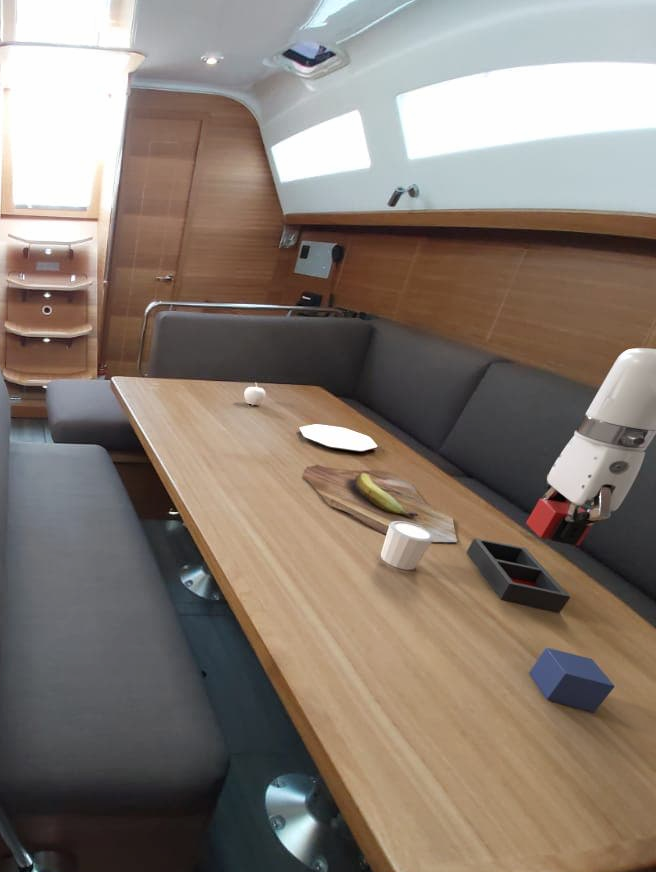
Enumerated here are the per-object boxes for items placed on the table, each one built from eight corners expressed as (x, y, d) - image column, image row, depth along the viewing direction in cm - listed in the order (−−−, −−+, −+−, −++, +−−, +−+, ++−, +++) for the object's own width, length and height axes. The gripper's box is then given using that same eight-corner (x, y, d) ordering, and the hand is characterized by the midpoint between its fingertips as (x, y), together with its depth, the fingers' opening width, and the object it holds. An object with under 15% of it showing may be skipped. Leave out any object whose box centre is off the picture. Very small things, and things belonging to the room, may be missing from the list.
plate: (382, 458, 141) (384, 454, 140) (306, 447, 146) (307, 443, 145) (362, 434, 158) (364, 430, 157) (294, 425, 163) (296, 421, 162)
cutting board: (289, 464, 135) (293, 451, 133) (395, 472, 132) (401, 459, 131) (352, 535, 104) (359, 519, 102) (493, 548, 101) (502, 533, 99)
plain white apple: (244, 399, 186) (249, 379, 183) (264, 403, 183) (270, 382, 179) (240, 404, 181) (245, 383, 178) (260, 408, 178) (266, 387, 174)
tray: (516, 562, 97) (525, 547, 95) (559, 613, 84) (570, 596, 82) (466, 552, 100) (474, 537, 98) (500, 599, 87) (509, 583, 85)
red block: (562, 530, 85) (577, 504, 82) (579, 545, 80) (596, 519, 78) (525, 523, 86) (539, 498, 84) (540, 538, 82) (555, 512, 80)
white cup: (425, 575, 92) (441, 544, 89) (383, 566, 94) (396, 536, 91) (412, 554, 98) (426, 524, 95) (372, 547, 100) (384, 517, 97)
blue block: (573, 684, 70) (592, 658, 68) (594, 713, 66) (615, 686, 64) (528, 672, 72) (545, 647, 70) (546, 699, 68) (565, 673, 66)
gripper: (690, 458, 67) (614, 567, 75) (610, 419, 81) (553, 514, 89) (617, 448, 69) (550, 554, 77) (552, 411, 84) (501, 504, 92)
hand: (552, 532), depth 83 cm, fingers closed on red block, 5 cm apart
